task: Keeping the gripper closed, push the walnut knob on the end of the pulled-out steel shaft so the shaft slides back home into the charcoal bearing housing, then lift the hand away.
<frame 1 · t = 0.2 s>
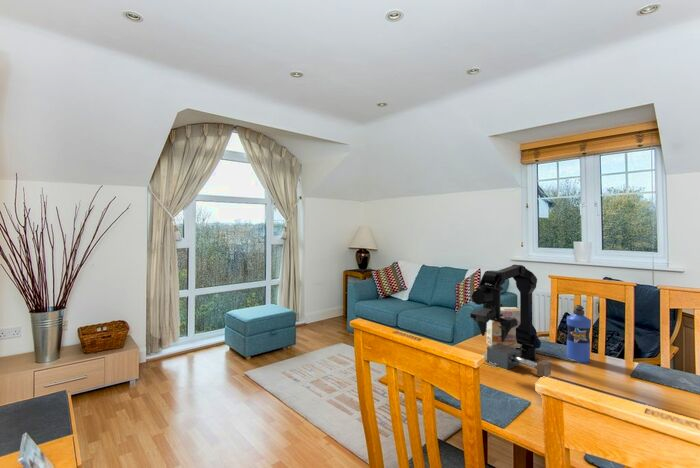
hand: (492, 338, 145), 14 cm above the table, tool pointing down, fingers open, 9 cm apart
coffeecake box: (503, 346, 177), on the table
housing: (503, 363, 156), on the table
water bottle: (578, 359, 160), on the table
shaft: (525, 362, 147), point 4 cm above the table, slide at 6.0 cm
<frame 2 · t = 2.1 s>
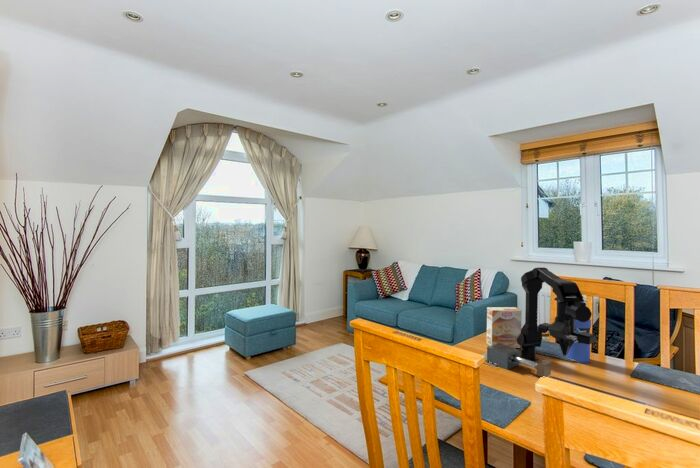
hand: (565, 355, 133), 12 cm above the table, tool pointing down, fingers closed
nothing on the table moved.
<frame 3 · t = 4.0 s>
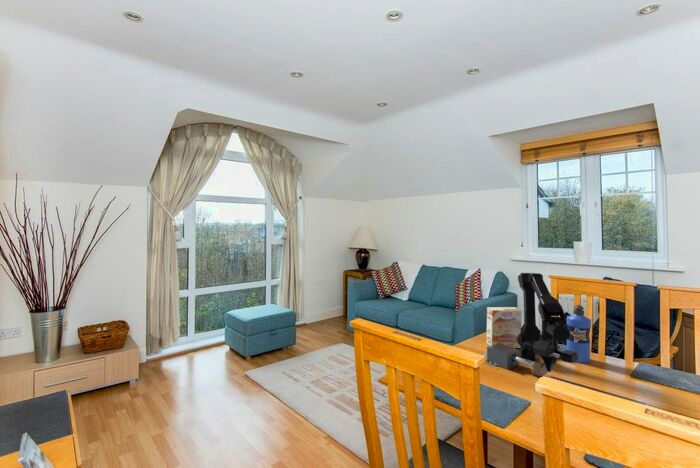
hand: (549, 371, 139), 3 cm above the table, tool pointing down, fingers closed
shaft: (522, 361, 148), point 4 cm above the table, slide at 4.7 cm, touching gripper
everything else where it was.
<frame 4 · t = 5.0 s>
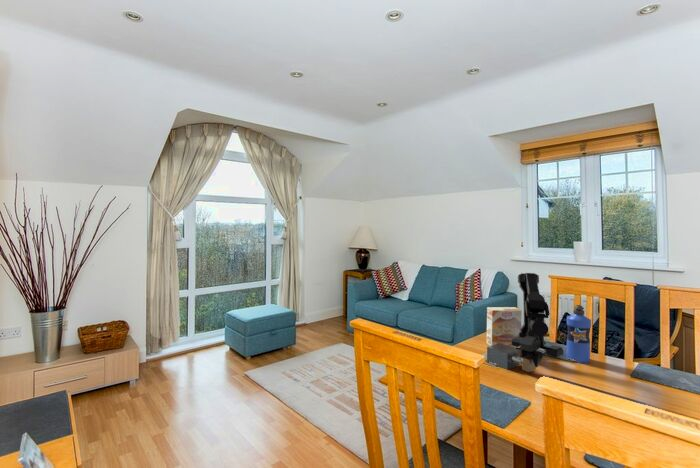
hand: (536, 367, 143), 4 cm above the table, tool pointing down, fingers closed
shaft: (512, 357, 152), point 4 cm above the table, slide at -0.1 cm, touching gripper
everything else where it was.
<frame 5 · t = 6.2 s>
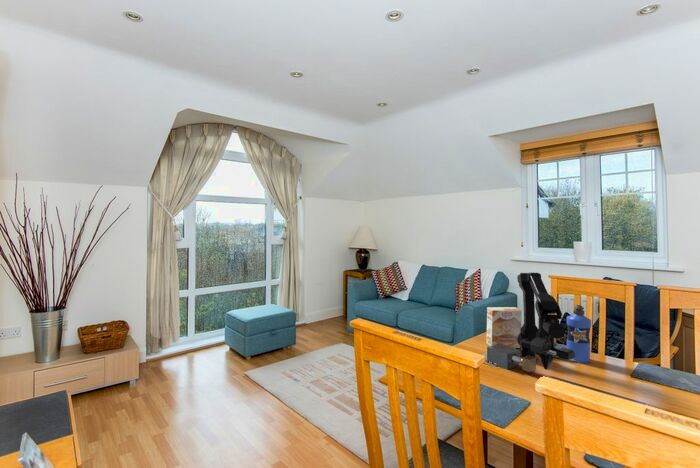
hand: (546, 369, 139), 4 cm above the table, tool pointing down, fingers closed
shaft: (512, 357, 152), point 4 cm above the table, slide at 0.0 cm
everything else where it was.
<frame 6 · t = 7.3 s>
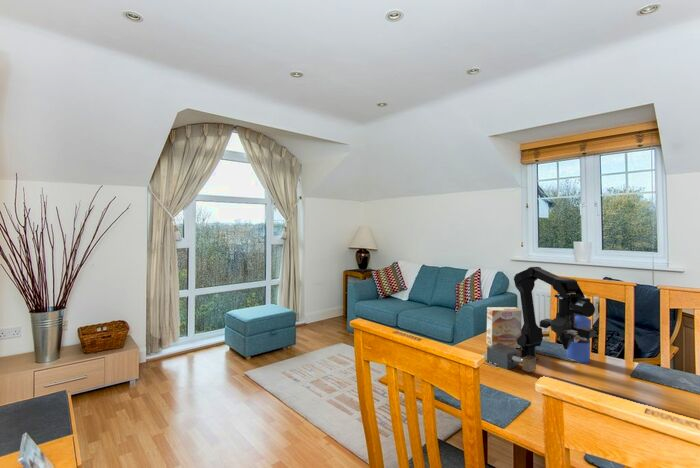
hand: (566, 349, 140), 12 cm above the table, tool pointing down, fingers closed
nothing on the table moved.
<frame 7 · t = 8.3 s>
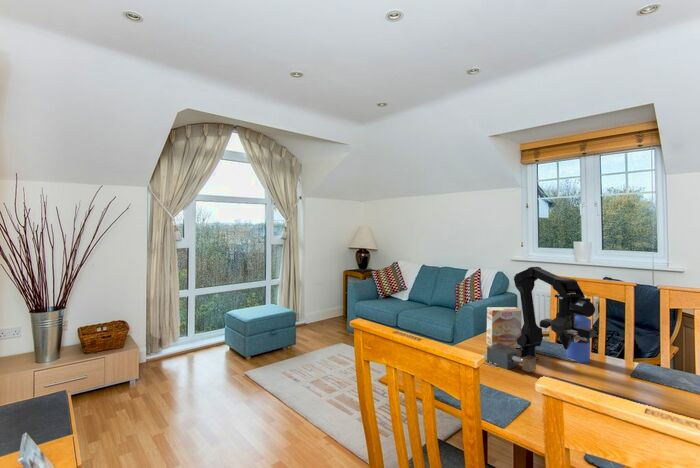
hand: (566, 349, 140), 12 cm above the table, tool pointing down, fingers closed
nothing on the table moved.
at the end: shaft slide at 0.0 cm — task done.
